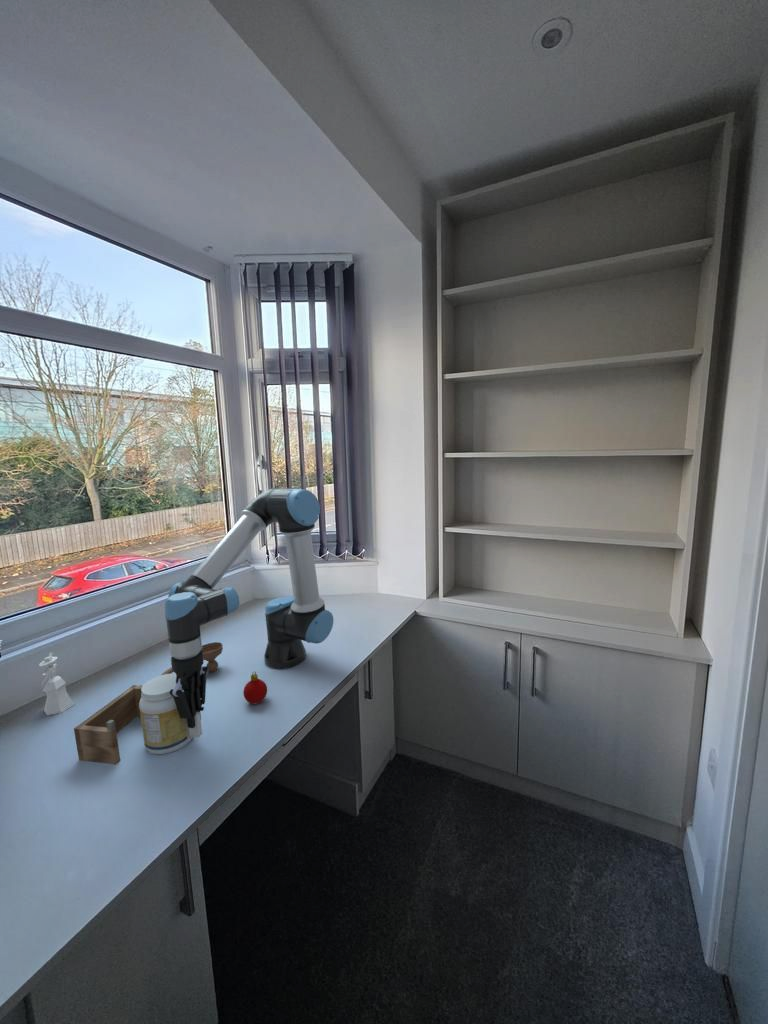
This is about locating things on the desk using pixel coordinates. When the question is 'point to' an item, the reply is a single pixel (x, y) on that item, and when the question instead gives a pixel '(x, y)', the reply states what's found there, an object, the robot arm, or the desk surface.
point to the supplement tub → (162, 717)
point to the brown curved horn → (207, 656)
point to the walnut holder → (107, 728)
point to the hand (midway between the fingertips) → (196, 735)
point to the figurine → (54, 688)
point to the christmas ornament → (255, 690)
